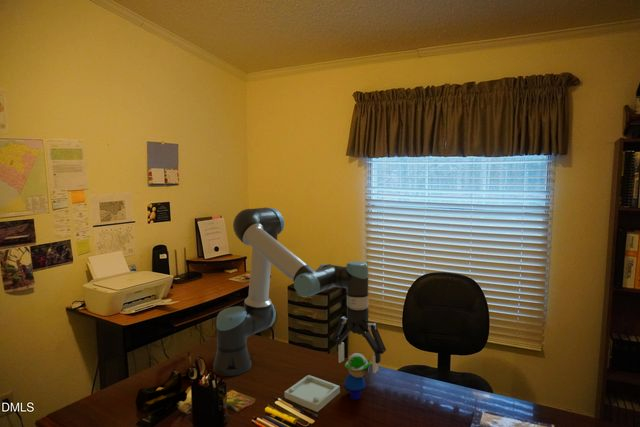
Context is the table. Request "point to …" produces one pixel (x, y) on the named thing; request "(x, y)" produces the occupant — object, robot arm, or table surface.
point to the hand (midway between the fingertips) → (357, 366)
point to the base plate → (312, 392)
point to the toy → (356, 374)
